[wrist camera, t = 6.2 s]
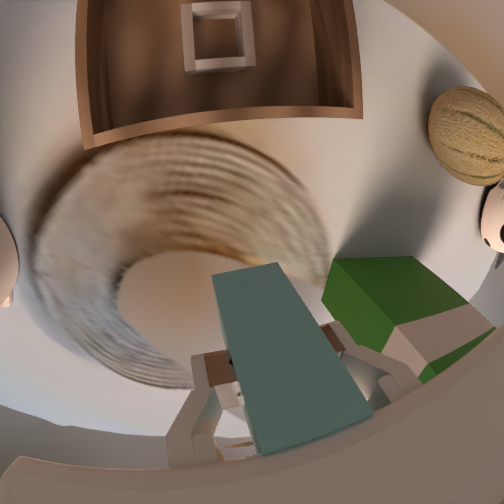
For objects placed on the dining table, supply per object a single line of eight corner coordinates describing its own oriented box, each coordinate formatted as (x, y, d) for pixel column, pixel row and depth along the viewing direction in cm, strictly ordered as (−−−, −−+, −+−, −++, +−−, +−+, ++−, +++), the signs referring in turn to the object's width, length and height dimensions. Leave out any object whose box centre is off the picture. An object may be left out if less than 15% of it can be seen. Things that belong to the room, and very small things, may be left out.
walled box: (108, 141, 24) (84, 150, 17) (101, -1, 15) (81, -29, 8) (322, 115, 28) (363, 119, 21) (310, -13, 20) (344, -37, 13)
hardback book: (411, 256, 43) (506, 338, 22) (398, 290, 46) (480, 376, 26) (332, 258, 38) (444, 384, 18) (321, 300, 42) (407, 425, 21)
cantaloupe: (400, 87, 28) (489, 95, 15) (453, 81, 29) (525, 93, 16) (415, 181, 36) (491, 218, 23) (462, 160, 36) (527, 187, 23)
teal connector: (223, 338, 14) (266, 482, 7) (211, 275, 12) (262, 453, 5) (278, 325, 14) (343, 456, 8) (277, 262, 12) (374, 412, 6)
